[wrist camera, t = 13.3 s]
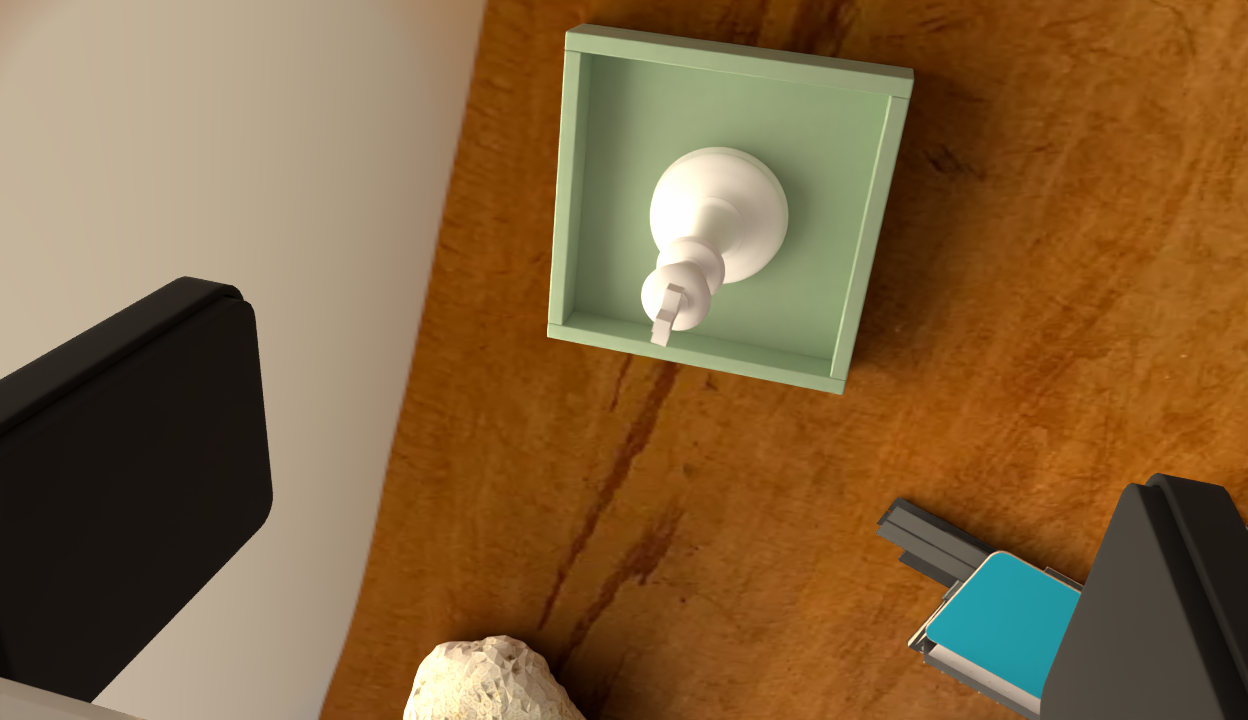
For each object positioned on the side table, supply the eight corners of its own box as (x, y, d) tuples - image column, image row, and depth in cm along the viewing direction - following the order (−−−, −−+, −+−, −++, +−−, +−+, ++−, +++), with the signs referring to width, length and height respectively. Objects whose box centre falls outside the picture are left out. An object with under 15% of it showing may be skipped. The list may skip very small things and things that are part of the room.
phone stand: (1469, 646, 35) (1493, 679, 34) (1232, 820, 41) (1245, 854, 40) (987, 383, 36) (991, 405, 34) (819, 594, 41) (816, 620, 40)
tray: (582, 22, 33) (565, 30, 32) (913, 68, 32) (914, 79, 30) (562, 316, 39) (546, 337, 37) (845, 371, 37) (843, 395, 35)
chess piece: (636, 254, 36) (556, 374, 27) (671, 127, 34) (596, 214, 25) (763, 297, 36) (721, 432, 27) (808, 171, 33) (778, 275, 25)
